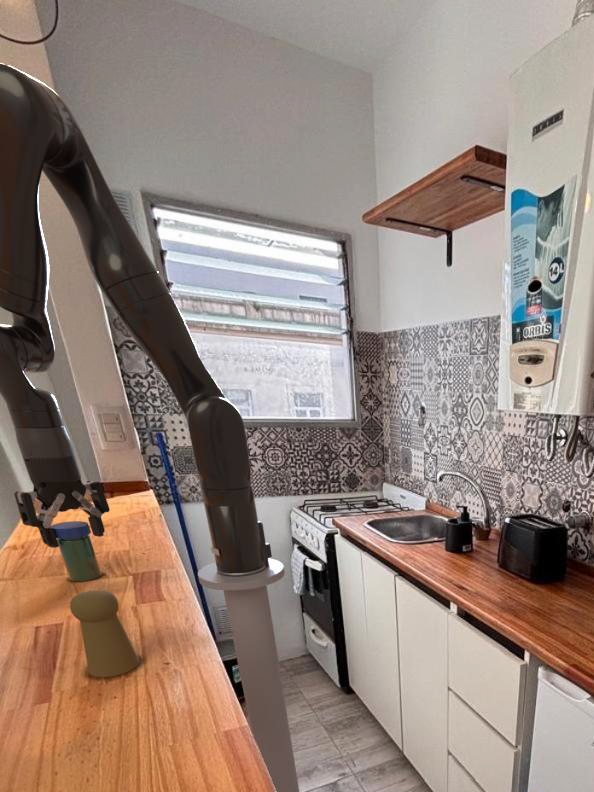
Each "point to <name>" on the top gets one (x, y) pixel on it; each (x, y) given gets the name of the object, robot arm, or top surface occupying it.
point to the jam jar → (79, 558)
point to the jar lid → (71, 529)
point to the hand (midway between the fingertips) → (76, 541)
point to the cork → (103, 634)
